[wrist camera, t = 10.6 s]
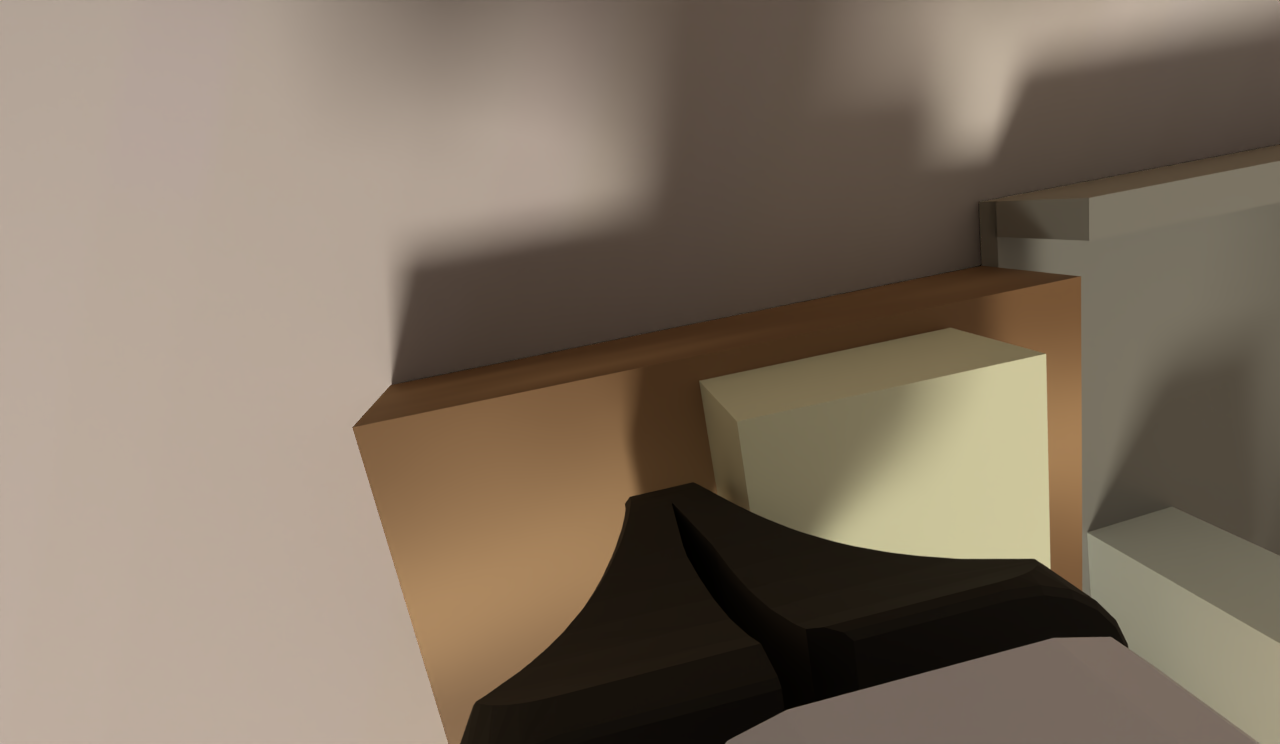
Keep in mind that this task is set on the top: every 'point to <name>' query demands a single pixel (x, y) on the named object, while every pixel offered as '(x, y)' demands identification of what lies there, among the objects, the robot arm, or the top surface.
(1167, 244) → the tray
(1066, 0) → the top surface
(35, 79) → the top surface
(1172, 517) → the tile
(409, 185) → the top surface
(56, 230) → the top surface
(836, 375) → the tile
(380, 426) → the walnut board
